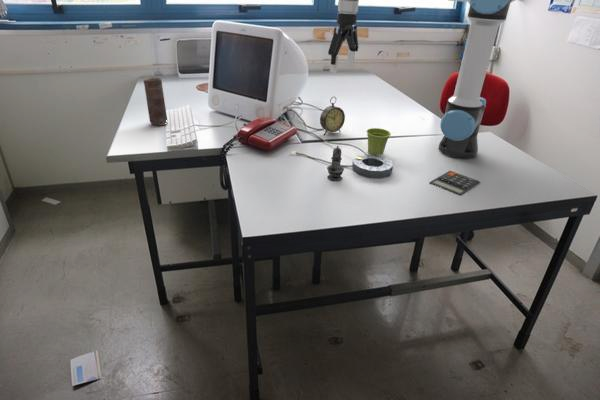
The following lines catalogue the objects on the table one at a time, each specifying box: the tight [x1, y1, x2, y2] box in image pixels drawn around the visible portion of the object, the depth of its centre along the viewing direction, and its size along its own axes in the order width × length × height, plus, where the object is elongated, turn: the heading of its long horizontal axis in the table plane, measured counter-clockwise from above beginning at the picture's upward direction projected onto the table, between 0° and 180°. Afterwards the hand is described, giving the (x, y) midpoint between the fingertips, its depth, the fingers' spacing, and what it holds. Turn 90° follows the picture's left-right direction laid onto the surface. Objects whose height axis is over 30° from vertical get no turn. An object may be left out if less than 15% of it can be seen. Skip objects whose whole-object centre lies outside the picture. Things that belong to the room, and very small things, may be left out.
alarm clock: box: [319, 96, 346, 136], centre depth 177 cm, size 11×5×16 cm, turn 123°
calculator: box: [429, 170, 481, 196], centre depth 143 cm, size 12×1×15 cm
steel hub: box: [351, 154, 394, 180], centre depth 148 cm, size 14×14×3 cm
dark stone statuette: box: [326, 145, 345, 182], centre depth 139 cm, size 6×6×12 cm
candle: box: [143, 76, 168, 126], centre depth 176 cm, size 8×7×20 cm
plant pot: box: [366, 127, 392, 156], centre depth 161 cm, size 9×9×9 cm
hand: (342, 70), depth 165 cm, fingers open, 13 cm apart
